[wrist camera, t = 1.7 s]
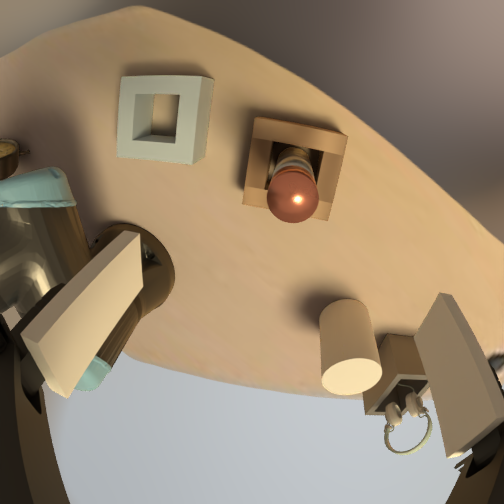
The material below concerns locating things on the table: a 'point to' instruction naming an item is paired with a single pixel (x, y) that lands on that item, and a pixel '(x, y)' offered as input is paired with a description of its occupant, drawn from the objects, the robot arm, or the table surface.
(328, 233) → the table surface
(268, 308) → the table surface
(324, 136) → the mount
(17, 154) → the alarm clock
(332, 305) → the cream cylinder
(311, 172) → the pin
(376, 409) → the box
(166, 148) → the frame
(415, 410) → the headphones
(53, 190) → the robot arm
